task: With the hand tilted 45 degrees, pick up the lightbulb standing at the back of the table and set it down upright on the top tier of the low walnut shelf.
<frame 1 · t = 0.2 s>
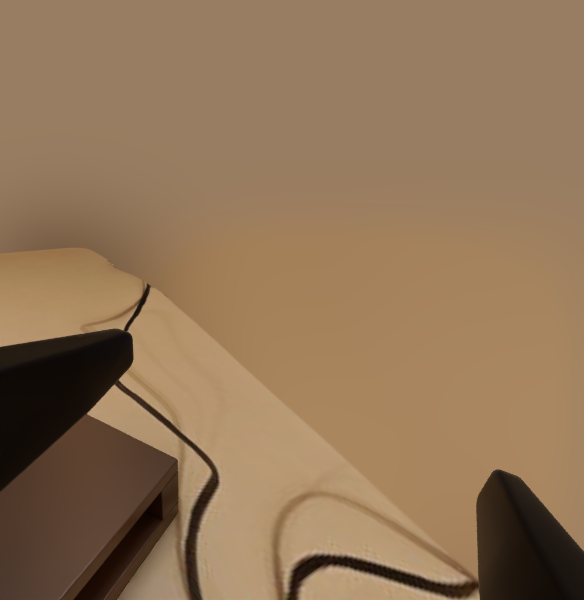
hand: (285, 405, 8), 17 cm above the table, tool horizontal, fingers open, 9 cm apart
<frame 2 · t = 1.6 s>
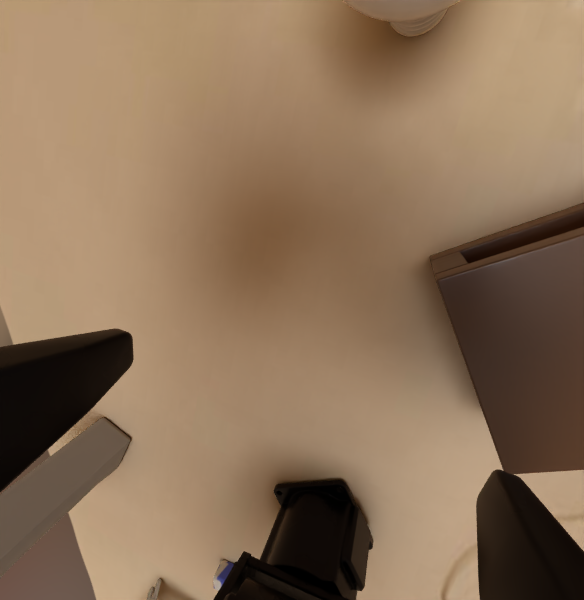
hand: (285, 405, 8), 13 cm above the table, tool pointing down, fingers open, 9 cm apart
eraser: (249, 572, 33), on the table
lightbulb: (418, 8, 15), on the table
vintage mobile phone: (114, 439, 33), on the table
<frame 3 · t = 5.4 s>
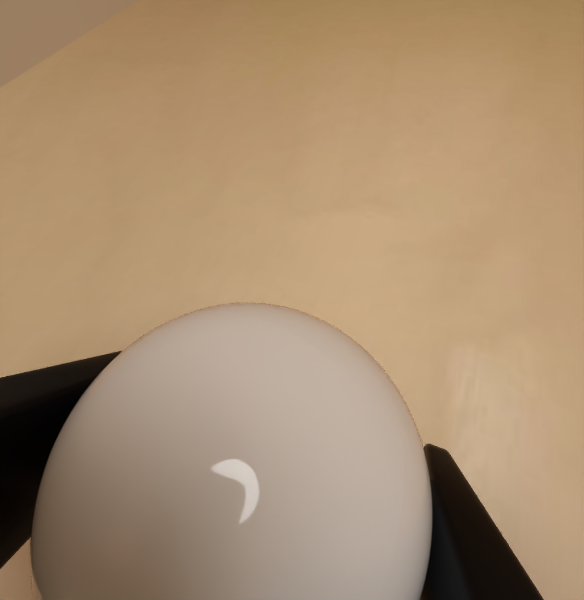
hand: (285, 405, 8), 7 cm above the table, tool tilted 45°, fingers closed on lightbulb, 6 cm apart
lightbulb: (295, 454, 13), on the table, touching gripper
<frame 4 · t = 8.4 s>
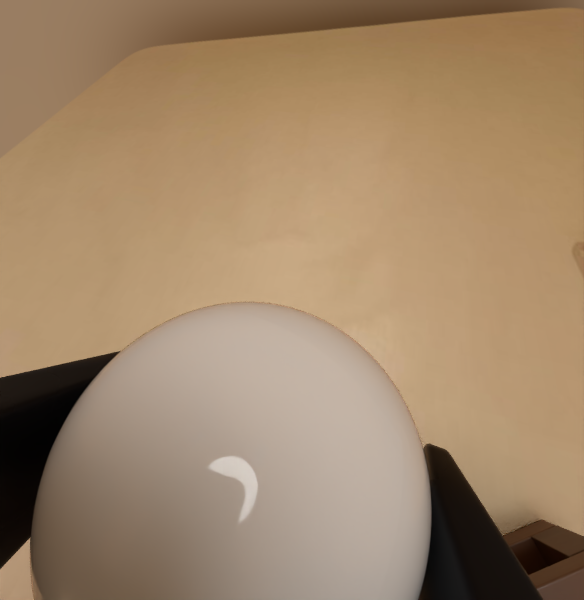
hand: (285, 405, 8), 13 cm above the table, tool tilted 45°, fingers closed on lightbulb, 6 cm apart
lightbulb: (295, 453, 13), point 6 cm above the table, touching gripper
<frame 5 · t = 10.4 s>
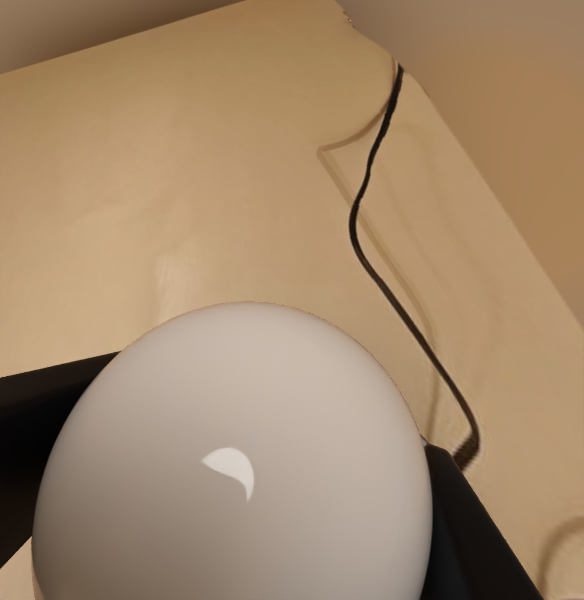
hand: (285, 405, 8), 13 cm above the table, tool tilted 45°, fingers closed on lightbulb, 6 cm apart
lightbulb: (295, 453, 13), point 6 cm above the table, touching gripper
when the fingers open (12 cm above the table, at t = 11.7 s): lightbulb stays where it is, resting on shelf.
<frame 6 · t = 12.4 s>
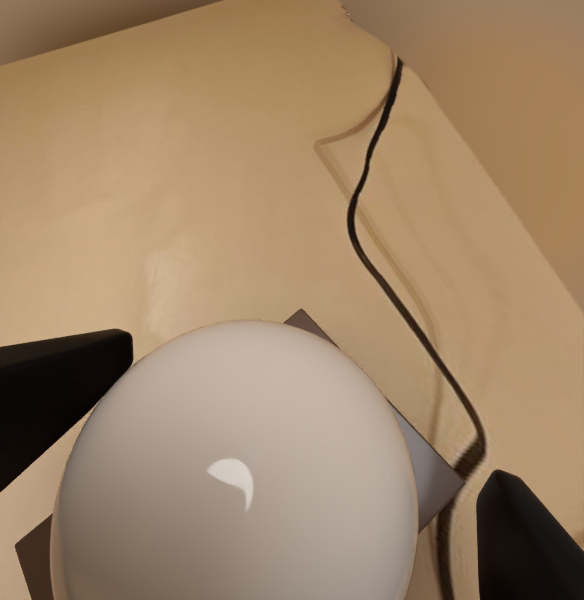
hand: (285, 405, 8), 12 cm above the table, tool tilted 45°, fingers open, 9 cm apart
shelf: (257, 495, 18), on the table
lightbulb: (295, 458, 14), point 5 cm above the table, touching shelf
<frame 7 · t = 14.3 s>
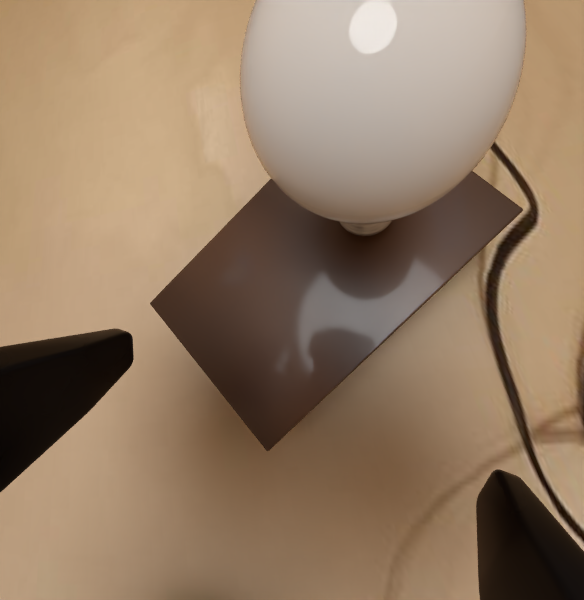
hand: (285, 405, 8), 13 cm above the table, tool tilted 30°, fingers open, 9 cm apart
shelf: (327, 280, 21), on the table
lightbulb: (365, 215, 16), point 5 cm above the table, touching shelf
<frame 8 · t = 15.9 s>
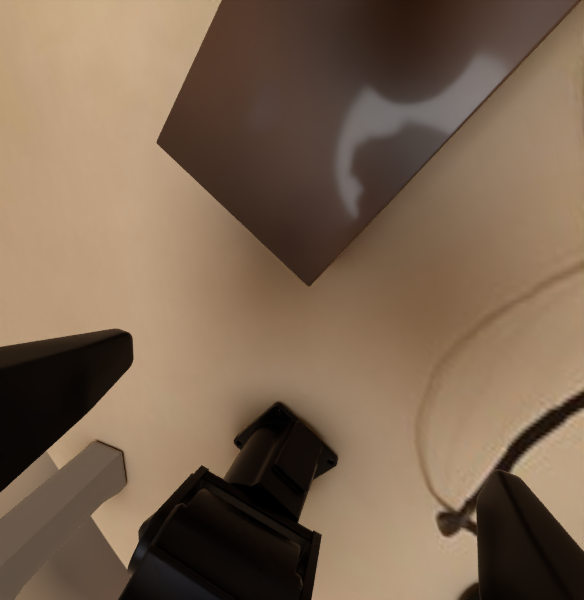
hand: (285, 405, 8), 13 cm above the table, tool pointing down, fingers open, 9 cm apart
shelf: (365, 79, 16), on the table
vintage mobile phone: (113, 460, 36), on the table
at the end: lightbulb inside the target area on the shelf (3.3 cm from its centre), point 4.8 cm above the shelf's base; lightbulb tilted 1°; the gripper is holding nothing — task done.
